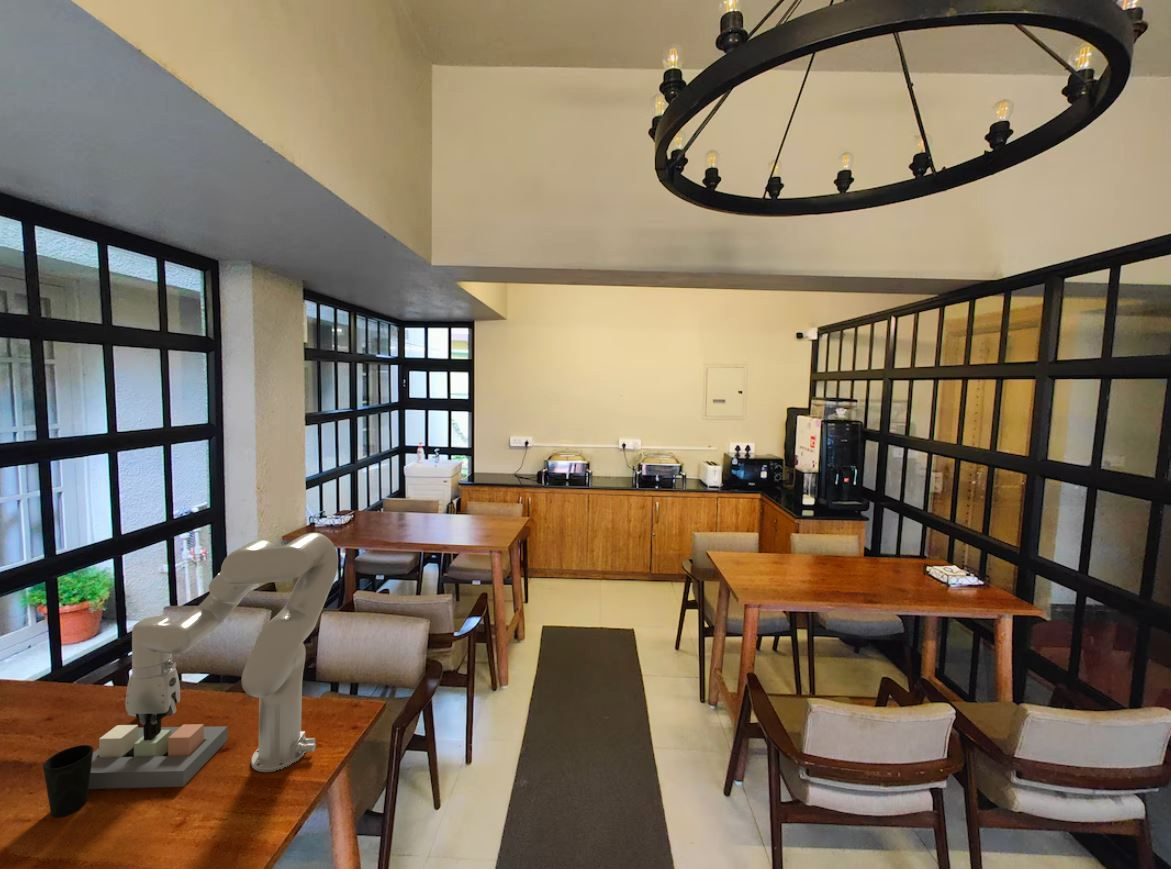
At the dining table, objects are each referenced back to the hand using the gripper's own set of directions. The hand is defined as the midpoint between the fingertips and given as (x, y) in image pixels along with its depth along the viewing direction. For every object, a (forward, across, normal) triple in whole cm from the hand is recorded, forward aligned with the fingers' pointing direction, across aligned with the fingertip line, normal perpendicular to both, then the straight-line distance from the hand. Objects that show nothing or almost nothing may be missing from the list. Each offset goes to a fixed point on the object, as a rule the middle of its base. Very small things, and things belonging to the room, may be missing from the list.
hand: (152, 736), depth 121 cm
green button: (+5, 0, 0) cm, 5 cm away
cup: (+7, +7, +13) cm, 17 cm away
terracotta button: (+4, -8, 0) cm, 9 cm away
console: (+7, 0, 0) cm, 7 cm away
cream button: (+4, +8, 0) cm, 9 cm away
